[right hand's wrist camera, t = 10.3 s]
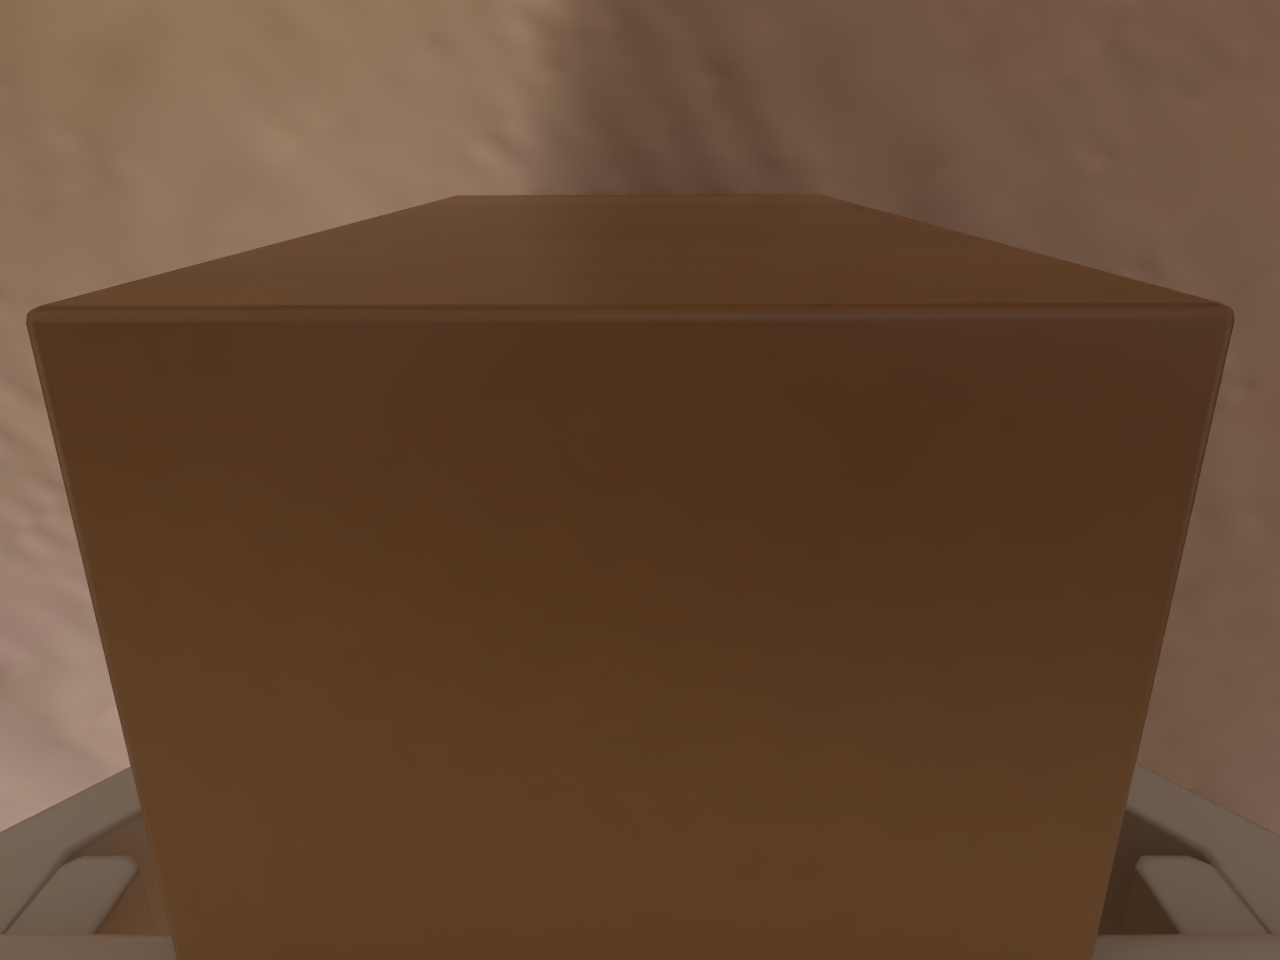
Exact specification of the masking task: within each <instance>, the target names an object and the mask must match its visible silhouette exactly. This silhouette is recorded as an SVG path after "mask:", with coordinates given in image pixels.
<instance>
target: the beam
mask: <svg viewBox="0 0 1280 960" xmlns="http://www.w3.org/2000/svg"><path fill="white" fill-rule="evenodd" d="M26 324H27V328H28V333H29V337H30V341H31V345H32V350H33V354H34V358H35V362H36V366H37V371H38V375H39V379H40V383H41V388H42V392H43V396H44V400H45V405H46V409H47V413H48V417H49V421H50V426H51V430H52V434H53V438H54V443H55V447H56V451H57V455H58V460H59V464H60V468H61V472H62V477H63V481H64V485H65V489H66V493H67V498H68V502H69V506H70V510H71V515H72V519H73V523H74V527H75V532H76V536H77V540H78V544H79V548H80V553H81V557H82V561H83V565H84V570H85V574H86V578H87V582H88V587H89V591H90V595H91V599H92V604H93V608H94V612H95V616H96V620H97V625H98V629H99V633H100V637H101V642H102V646H103V650H104V654H105V659H106V663H107V667H108V671H109V675H110V680H111V684H112V688H113V692H114V697H115V701H116V705H117V709H118V714H119V718H120V722H121V726H122V731H123V735H124V739H125V743H126V747H127V752H128V756H129V760H130V764H131V769H132V773H133V777H134V781H135V786H136V790H137V794H138V798H139V802H140V807H141V811H142V815H143V819H144V824H145V828H146V832H147V836H148V841H149V845H150V849H151V853H152V857H153V862H154V866H155V870H156V874H157V879H158V883H159V887H160V891H161V896H162V900H163V904H164V908H165V913H166V917H167V921H168V925H169V929H170V934H171V938H172V942H173V946H174V951H175V955H176V959H177V960H1092V956H1093V952H1094V947H1095V943H1096V938H1097V934H1098V930H1099V925H1100V921H1101V916H1102V912H1103V907H1104V903H1105V898H1106V894H1107V889H1108V885H1109V880H1110V876H1111V871H1112V867H1113V862H1114V858H1115V853H1116V849H1117V844H1118V840H1119V835H1120V831H1121V826H1122V822H1123V817H1124V813H1125V808H1126V804H1127V799H1128V795H1129V790H1130V786H1131V781H1132V777H1133V772H1134V768H1135V764H1136V759H1137V755H1138V750H1139V746H1140V741H1141V737H1142V732H1143V728H1144V723H1145V719H1146V714H1147V710H1148V705H1149V701H1150V696H1151V692H1152V687H1153V683H1154V678H1155V674H1156V669H1157V665H1158V660H1159V656H1160V651H1161V647H1162V642H1163V638H1164V633H1165V629H1166V624H1167V620H1168V615H1169V611H1170V607H1171V602H1172V598H1173V593H1174V589H1175V584H1176V580H1177V575H1178V571H1179V566H1180V562H1181V557H1182V553H1183V548H1184V544H1185V539H1186V535H1187V530H1188V526H1189V521H1190V517H1191V512H1192V508H1193V503H1194V499H1195V494H1196V490H1197V485H1198V481H1199V476H1200V472H1201V467H1202V463H1203V458H1204V454H1205V449H1206V445H1207V441H1208V436H1209V432H1210V427H1211V423H1212V418H1213V414H1214V409H1215V405H1216V400H1217V396H1218V391H1219V387H1220V382H1221V378H1222V373H1223V369H1224V364H1225V360H1226V355H1227V351H1228V346H1229V342H1230V337H1231V333H1232V328H1233V324H1234V314H1233V310H1232V309H1231V308H1230V307H1228V306H1226V305H1224V304H1221V303H1219V302H1215V301H1211V300H1207V299H1204V298H1200V297H1196V296H1193V295H1189V294H1185V293H1182V292H1178V291H1174V290H1170V289H1167V288H1163V287H1159V286H1156V285H1152V284H1148V283H1145V282H1141V281H1137V280H1133V279H1130V278H1126V277H1122V276H1119V275H1115V274H1111V273H1108V272H1104V271H1100V270H1096V269H1093V268H1089V267H1085V266H1082V265H1078V264H1074V263H1071V262H1067V261H1063V260H1059V259H1056V258H1052V257H1048V256H1045V255H1041V254H1037V253H1034V252H1030V251H1026V250H1022V249H1019V248H1015V247H1011V246H1008V245H1004V244H1000V243H997V242H993V241H989V240H985V239H982V238H978V237H974V236H971V235H967V234H963V233H960V232H956V231H952V230H948V229H945V228H941V227H937V226H934V225H930V224H926V223H923V222H919V221H915V220H911V219H908V218H904V217H900V216H897V215H893V214H889V213H886V212H882V211H878V210H874V209H871V208H867V207H863V206H860V205H856V204H852V203H849V202H845V201H841V200H838V199H834V198H830V197H826V196H823V195H511V196H454V197H450V198H447V199H443V200H439V201H435V202H431V203H428V204H424V205H420V206H416V207H412V208H409V209H405V210H401V211H397V212H394V213H390V214H386V215H382V216H378V217H375V218H371V219H367V220H363V221H360V222H356V223H352V224H348V225H344V226H341V227H337V228H333V229H329V230H325V231H322V232H318V233H314V234H310V235H307V236H303V237H299V238H295V239H291V240H288V241H284V242H280V243H276V244H272V245H269V246H265V247H261V248H257V249H254V250H250V251H246V252H242V253H238V254H235V255H231V256H227V257H223V258H220V259H216V260H212V261H208V262H204V263H201V264H197V265H193V266H189V267H185V268H182V269H178V270H174V271H170V272H167V273H163V274H159V275H155V276H151V277H148V278H144V279H140V280H136V281H132V282H129V283H125V284H121V285H117V286H114V287H110V288H106V289H102V290H98V291H95V292H91V293H87V294H83V295H80V296H76V297H72V298H68V299H64V300H61V301H57V302H53V303H49V304H45V305H42V306H39V307H37V308H35V309H32V310H30V312H29V313H28V314H27V321H26Z"/></svg>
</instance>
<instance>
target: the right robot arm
mask: <svg viewBox="0 0 1280 960" xmlns="http://www.w3.org/2000/svg"><path fill="white" fill-rule="evenodd" d="M0 960H177V959H176V955H175V951H174V946H173V942H172V938H171V934H170V929H169V925H168V921H167V917H166V913H165V908H164V904H163V900H162V896H161V891H160V887H159V883H158V879H157V874H156V870H155V866H154V862H153V857H152V853H151V849H150V845H149V841H148V836H147V832H146V828H145V824H144V819H143V815H142V811H141V807H140V802H139V798H138V794H137V790H136V786H135V781H134V777H133V773H132V769H131V767H129V768H127V769H125V770H123V771H121V772H119V773H117V774H115V775H113V776H111V777H109V778H107V779H105V780H103V781H101V782H99V783H97V784H95V785H93V786H91V787H89V788H87V789H85V790H83V791H81V792H79V793H78V794H76V795H74V796H72V797H70V798H68V799H66V800H64V801H62V802H60V803H58V804H56V805H54V806H52V807H50V808H48V809H46V810H44V811H42V812H40V813H38V814H36V815H34V816H32V817H30V818H28V819H26V820H24V821H22V822H20V823H18V824H16V825H14V826H12V827H10V828H8V829H6V830H4V831H2V832H0ZM1092 960H1280V836H1279V835H1277V834H1275V833H1273V832H1271V831H1269V830H1267V829H1265V828H1263V827H1261V826H1260V825H1258V824H1256V823H1254V822H1252V821H1250V820H1248V819H1246V818H1244V817H1242V816H1240V815H1238V814H1236V813H1234V812H1232V811H1230V810H1228V809H1226V808H1224V807H1222V806H1220V805H1218V804H1216V803H1214V802H1212V801H1210V800H1208V799H1206V798H1205V797H1203V796H1201V795H1199V794H1197V793H1195V792H1193V791H1191V790H1189V789H1187V788H1185V787H1183V786H1181V785H1179V784H1177V783H1175V782H1173V781H1171V780H1169V779H1167V778H1165V777H1163V776H1161V775H1159V774H1157V773H1155V772H1153V771H1151V770H1149V769H1148V768H1146V767H1144V766H1142V765H1140V764H1138V763H1136V764H1135V768H1134V772H1133V777H1132V781H1131V786H1130V790H1129V795H1128V799H1127V804H1126V808H1125V813H1124V817H1123V822H1122V826H1121V831H1120V835H1119V840H1118V844H1117V849H1116V853H1115V858H1114V862H1113V867H1112V871H1111V876H1110V880H1109V885H1108V889H1107V894H1106V898H1105V903H1104V907H1103V912H1102V916H1101V921H1100V925H1099V930H1098V934H1097V938H1096V943H1095V947H1094V952H1093V956H1092Z"/></svg>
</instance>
